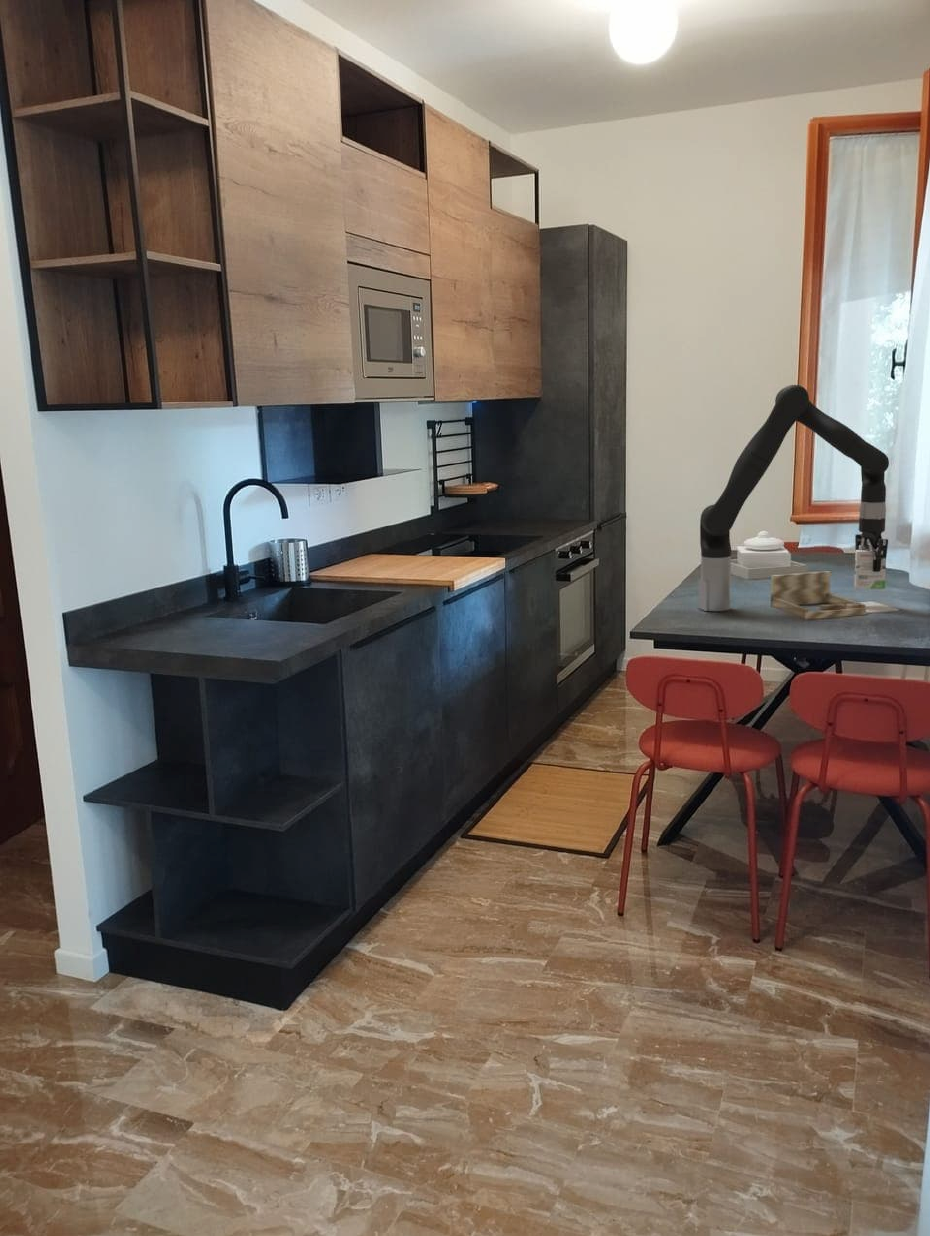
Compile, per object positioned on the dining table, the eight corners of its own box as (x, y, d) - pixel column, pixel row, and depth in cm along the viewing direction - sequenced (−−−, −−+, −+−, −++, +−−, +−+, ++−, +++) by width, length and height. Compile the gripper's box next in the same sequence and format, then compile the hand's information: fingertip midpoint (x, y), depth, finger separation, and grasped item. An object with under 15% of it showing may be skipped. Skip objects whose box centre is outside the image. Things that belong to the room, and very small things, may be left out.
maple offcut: (849, 615, 306) (850, 605, 306) (845, 613, 309) (846, 604, 308) (858, 614, 307) (859, 604, 306) (854, 612, 309) (855, 603, 308)
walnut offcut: (822, 611, 305) (823, 606, 305) (820, 609, 307) (820, 605, 307) (845, 610, 305) (845, 605, 305) (842, 608, 307) (842, 603, 307)
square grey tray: (748, 579, 370) (748, 569, 369) (720, 570, 392) (720, 560, 391) (806, 575, 374) (806, 564, 373) (775, 566, 396) (775, 556, 396)
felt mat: (863, 613, 307) (863, 612, 307) (838, 605, 320) (838, 604, 320) (899, 610, 309) (899, 609, 309) (872, 602, 323) (872, 601, 322)
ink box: (882, 586, 315) (884, 549, 312) (885, 589, 310) (887, 551, 308) (853, 586, 317) (855, 549, 314) (855, 589, 312) (857, 551, 310)
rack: (805, 619, 302) (807, 586, 300) (770, 606, 323) (771, 575, 321) (865, 614, 306) (867, 582, 304) (827, 601, 327) (828, 571, 325)
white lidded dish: (790, 576, 373) (791, 533, 370) (740, 576, 376) (741, 534, 373) (783, 568, 390) (784, 527, 387) (735, 568, 393) (736, 528, 390)
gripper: (848, 514, 315) (845, 567, 318) (875, 519, 301) (872, 574, 305) (869, 513, 316) (867, 565, 320) (897, 518, 303) (894, 572, 306)
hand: (869, 569), depth 312 cm, fingers closed on ink box, 6 cm apart
